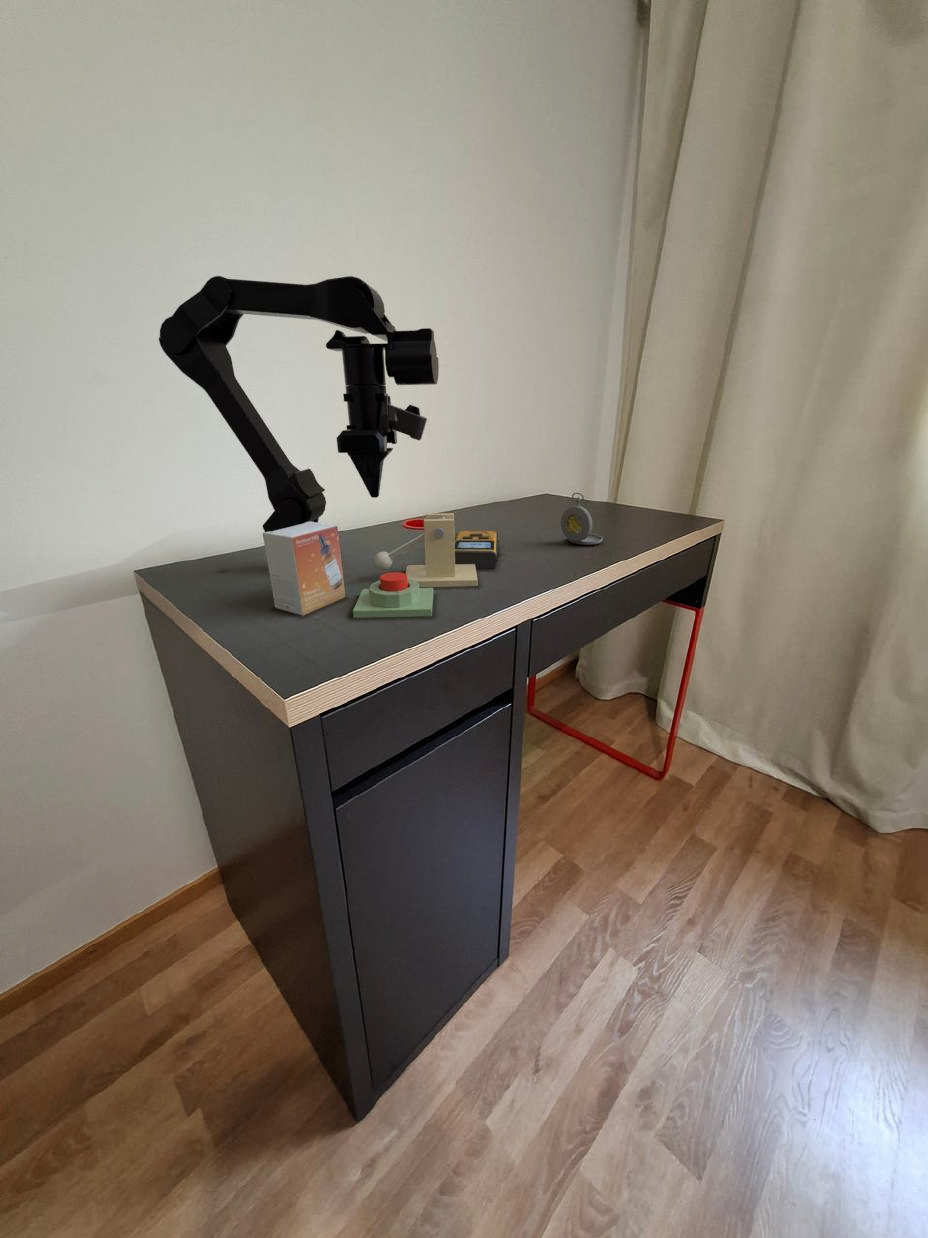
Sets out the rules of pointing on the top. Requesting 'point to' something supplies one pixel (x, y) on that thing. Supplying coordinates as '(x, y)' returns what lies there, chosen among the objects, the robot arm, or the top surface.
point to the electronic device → (477, 548)
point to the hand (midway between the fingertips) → (375, 497)
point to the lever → (396, 552)
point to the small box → (305, 566)
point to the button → (393, 582)
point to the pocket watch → (579, 525)
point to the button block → (394, 602)
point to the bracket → (441, 557)
